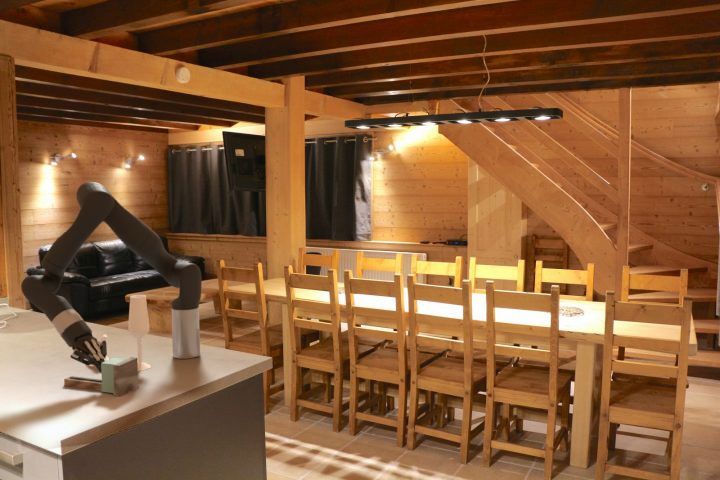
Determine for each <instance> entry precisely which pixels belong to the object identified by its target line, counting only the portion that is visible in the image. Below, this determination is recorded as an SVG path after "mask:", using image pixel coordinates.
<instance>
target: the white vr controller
mask: <svg viewBox="0 0 720 480" xmlns="http://www.w3.org/2000/svg"><path fill="white" fill-rule="evenodd" d="M107 339H108V336H107V334H103V335H102V336H101V337H100V339H99V340H98V341H99V342H102V341H107ZM104 360H105V361H108V360H110V359H109V357H108V355H106V357H105V358H104ZM88 367H95V365H92V364H90V365H89V366H88Z"/></svg>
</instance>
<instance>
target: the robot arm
mask: <svg viewBox="0 0 720 480" xmlns="http://www.w3.org/2000/svg"><path fill="white" fill-rule="evenodd" d="M76 201H77V204H78V205H79V207H80V210H79V212H78V214H77V216H76V218H75V220H74V221H73V223H72V225H71V226H69V228H68V229H66V231H64V232H63V233H62V234H61V235H60V236H59V237H58V238H57V239H56V240H55V241H53V243H52V244H51V246H50V247H49V249H48V251H47V252H46V253H45V255H44V257H43V259H42V260H41V268H42V269H44V271H43V273H42V274H38V275H37V274H36V275H35V274H32V275H28V276H26V277H25V278H23V280H22V281H21V287H20V289H21V292H22V295H23V297H25V298H26V299H27V301H28V302H29V303H31V304H32V305H33V306H34V307H36V308H37V309H38V310H40V311H41V312H42V313H43V314H44V315H45V317H46V318H47V319H48V320H49V321H50V322H51V324H52V325H53V327H54V328H55V331H56V332H57V333H58V334H59V336H60V337H61V338H62V340H63V341H64V342H65V344H66V345H67V346H68V347H69V348H71V350H72V351H73V352H72V353H71V355H70V358H71V359H73V360H74V361H77V362H79V363H81V364H83V365H85V366H87V367H90V366H89V365H90V364H92V365H95V366H94V367H96V369H97V371H98V372H99V373H100V374H102V373H101V363H103V362H105V360H104V358H105V357H106V356H108V353H107V352H108V350H107V348H108V347H107V342H106V341H107V340H106V341H102V342H99V340H98V339H97V338H96V337H94V335H93V329H91V328H90V326H89V325H88V324H87V322H86V321H85V320H84V318H82V316H81V315H80V313H78V312H77V311H76V310H75V309H74V307H73V306H72V304H70V303H69V301H68V300H67V299H66V298H65V297H63V296H62V295H61V296H60V295H58V294H56V293H57V292H58V291H59V289H60V287H61V285H62V282H63V279H64V276H65V271H66V270H67V268H68V267H69V265H70V264H71V263H72V261H73V259H74V258H75V257H76V255H77V253H78V252H79V250H80V249H81V247H83V245H84V244H85V242H86V241H87V240H88V239H89V238H90V237H91V235H92V233H94V232H95V230H97V228H98V227H99V226H100V225H101V224H102V223H103V222H104V223H105V224H106V225H107V226H108V227H109V228H110V229H111V231H112V232H113V233H114V234H115V236H116V237H117V238H118V240H120V241H121V243H123V244H124V245H125V246H126V247H127V248H128V249H129V250H130V251H132V252H133V253H134V255H136V256H138V257H139V258H140V259H142V260H143V261H144V262H145V263H146V264H148V265H149V266H151V267H152V268H153V269H154V270H155V271H156V272H158V274H159V275H160V276H161V277H162V278H163V279H164V281H166V282H167V283H168V284H169V286H171V287H173V288H177V289H179V294H178V296H177V297H176V298H173V300H171V331H172V332H171V333H172V335H171V336H172V357H173V358H175V359H181V360H182V359H183V360H185V359H192V358H196V357H201V329H200V301H201V298H202V280H203V278H202V271H201V269H200V267H199V265H197V264H196V263H192V262H183V261H180V260H178V259H176V258H175V257H173V256H172V255H171V254H170V253H169V252H168V251H167V250H166V249H165V246H164V243H163V241H162V239H161V238H160V236H159V234H157V233H156V232H155V231H154V230H153V229H152V228H150V227H149V226H148V225H147V224H146V223H145V222H143V221H142V220H141V219H139V217H137V216H135V214H134V213H131V212H130V211H129V210H127V209H126V208H125V207H124V206H123V205H121V203H120V202H119V201H118V200H117V199H116V198H115V197H114V196H113V195H112V193H110V191H109V190H108V188H107V187H106V186H105V185H103V184H101V183H99V182H96V181H88V182H84V183H82V184H80V186H79V187H78V188H77V190H76Z"/></svg>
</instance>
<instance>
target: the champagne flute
mask: <svg viewBox="0 0 720 480" xmlns="http://www.w3.org/2000/svg"><path fill="white" fill-rule="evenodd" d="M129 299H130V300H129V309H128V310H129V312H128V326H127V329H128V330H127V331H128V334H130V335H131V336H132V337H133V338H134V339H136V340H137V362H138V372H139V371H145V370H149V369H150V368H151V367H152V366H151V365H150V364H148V363H146V362H144V361H143V358H142V357H143V356H142V355H143V353H142V352H143V351H142V339H143V338H145V337H146V336H147V335H148V333H149V331H150V329H151V327H150V319H149V318H150V317H149V309H148V304H147V303H148V302H147V295H145V294H136V295H135V294H133V295H130V297H129Z"/></svg>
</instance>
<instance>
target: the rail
mask: <svg viewBox="0 0 720 480" xmlns="http://www.w3.org/2000/svg"><path fill="white" fill-rule="evenodd" d="M113 376H114V393H113V396H116V397H122V396H123V395H125V394H128V393H129V392H131V391H133V390H136V389H137V388H139V371H138V357H134V356H133V357H132V356H131V357H129V358H126V360H124V361H121V362H119V363H117V364H114V365H113ZM64 386H66V387H73V388H81V389H89V390H97V391H102V379H99V378H93V377H92V378H91V377H83V376H74V375H71V376H68V377H66V378H64Z"/></svg>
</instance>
